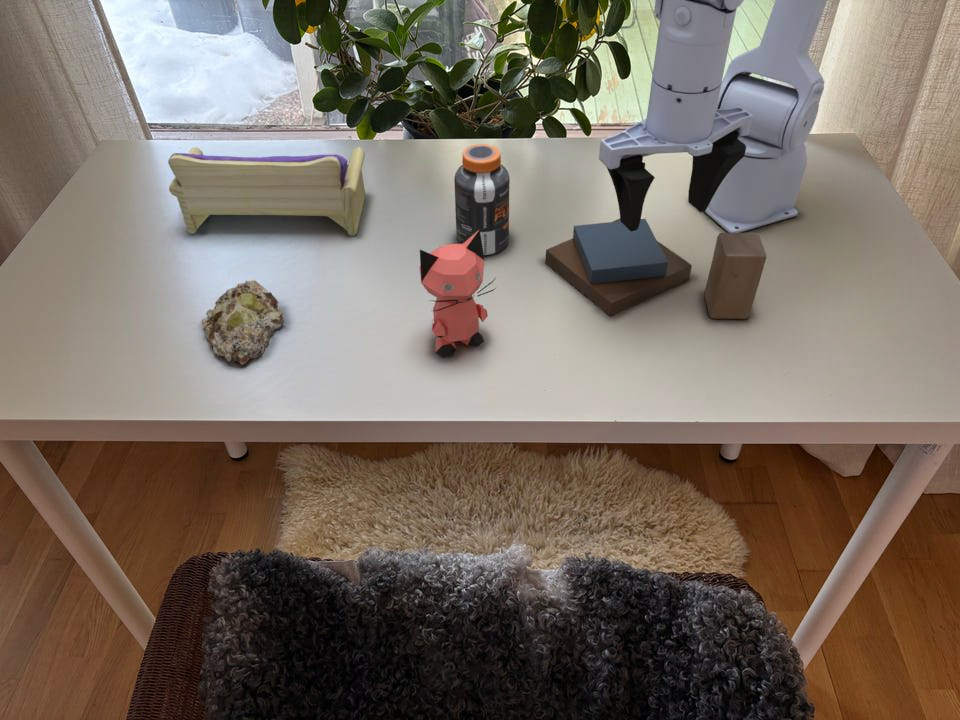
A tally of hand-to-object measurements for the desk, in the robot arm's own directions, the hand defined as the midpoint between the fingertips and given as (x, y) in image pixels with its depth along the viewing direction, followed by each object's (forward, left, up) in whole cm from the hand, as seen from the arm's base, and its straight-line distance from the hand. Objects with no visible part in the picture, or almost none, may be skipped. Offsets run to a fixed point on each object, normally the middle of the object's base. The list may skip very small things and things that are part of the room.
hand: (663, 215), depth 74 cm
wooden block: (-6, +5, -10) cm, 12 cm away
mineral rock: (+40, -12, -10) cm, 43 cm away
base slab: (+1, -5, -10) cm, 11 cm away
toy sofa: (+32, -31, -10) cm, 46 cm away
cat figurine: (+21, -2, -10) cm, 23 cm away
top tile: (+1, -5, -8) cm, 9 cm away
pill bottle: (+12, -16, -10) cm, 22 cm away
